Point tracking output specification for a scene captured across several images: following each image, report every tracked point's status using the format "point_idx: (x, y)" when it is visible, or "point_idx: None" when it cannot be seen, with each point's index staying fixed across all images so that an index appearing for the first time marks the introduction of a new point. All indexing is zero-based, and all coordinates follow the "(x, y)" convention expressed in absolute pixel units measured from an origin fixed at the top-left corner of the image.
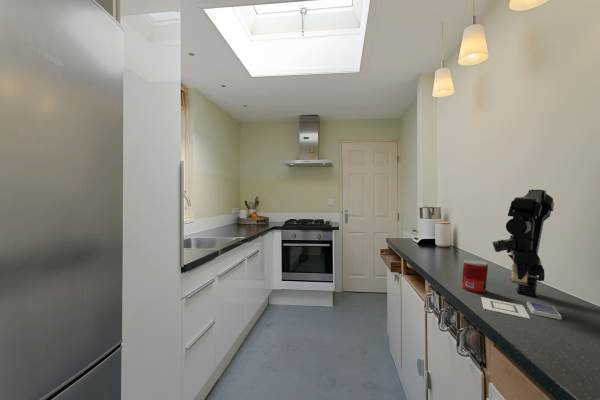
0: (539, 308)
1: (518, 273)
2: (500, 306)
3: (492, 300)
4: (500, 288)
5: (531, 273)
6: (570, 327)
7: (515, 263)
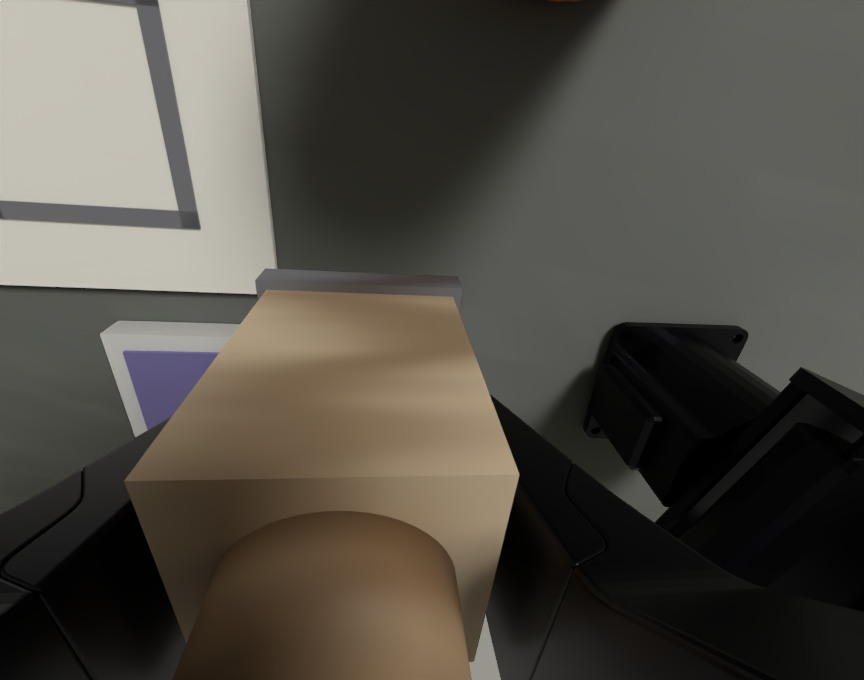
0: (190, 385)
1: (156, 434)
2: (33, 74)
3: (199, 20)
4: (733, 211)
5: (686, 544)
6: (47, 462)
7: (266, 580)
